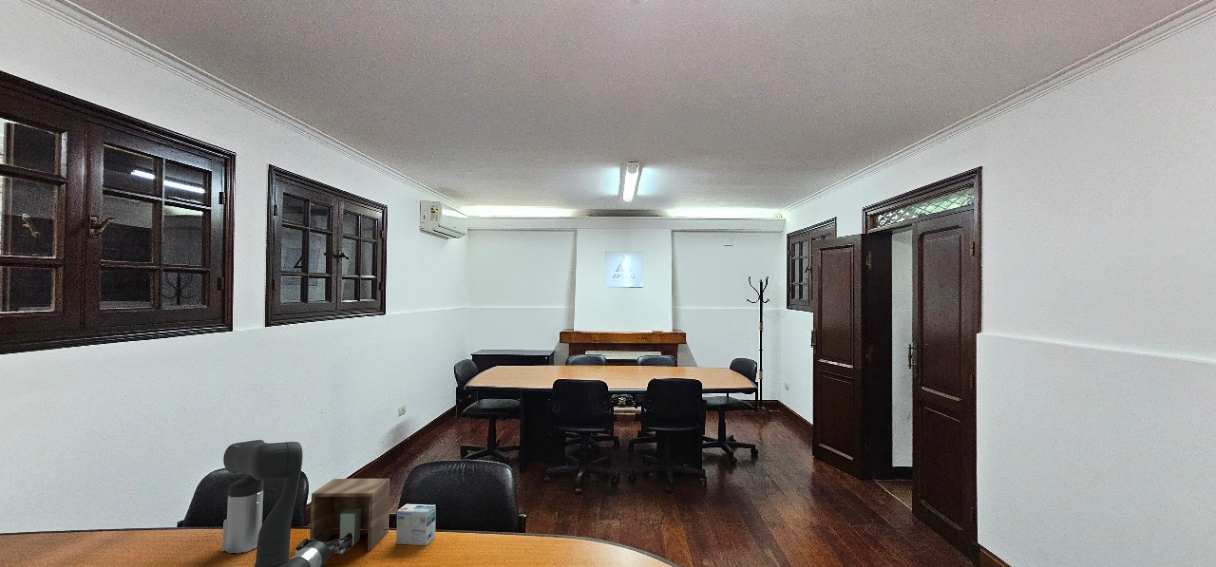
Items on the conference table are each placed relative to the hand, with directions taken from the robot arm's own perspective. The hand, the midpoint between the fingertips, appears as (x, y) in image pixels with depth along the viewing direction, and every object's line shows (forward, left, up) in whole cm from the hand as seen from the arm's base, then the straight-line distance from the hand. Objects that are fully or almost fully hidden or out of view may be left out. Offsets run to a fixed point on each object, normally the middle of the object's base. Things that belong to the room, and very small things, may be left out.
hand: (336, 535), depth 158 cm
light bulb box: (+21, +10, -6) cm, 24 cm away
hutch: (0, +10, -6) cm, 11 cm away
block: (0, +9, -6) cm, 11 cm away
